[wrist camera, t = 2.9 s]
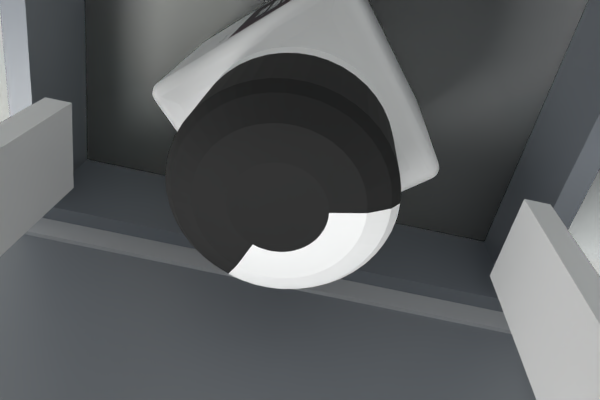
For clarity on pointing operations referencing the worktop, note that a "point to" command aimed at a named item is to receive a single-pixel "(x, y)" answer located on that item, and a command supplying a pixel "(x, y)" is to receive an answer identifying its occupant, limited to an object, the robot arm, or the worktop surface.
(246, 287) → the case
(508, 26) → the worktop surface
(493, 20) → the worktop surface
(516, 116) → the worktop surface
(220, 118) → the container
